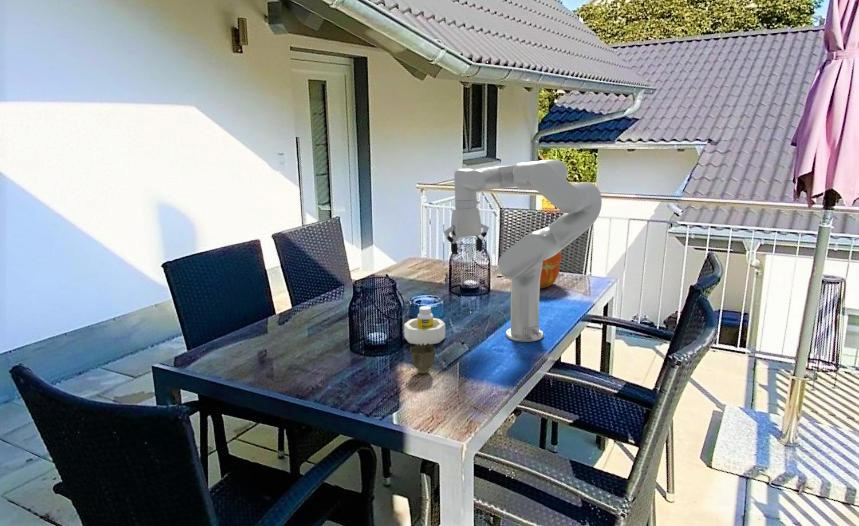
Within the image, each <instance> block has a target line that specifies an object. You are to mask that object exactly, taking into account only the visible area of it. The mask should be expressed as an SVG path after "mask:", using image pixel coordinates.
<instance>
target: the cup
mask: <svg viewBox="0 0 859 526" xmlns="http://www.w3.org/2000/svg"><path fill="white" fill-rule="evenodd" d="M409 351H410V357H411V362H412V365H413V367H414V368H415V369H416V370H417V373H418V374H419V375H428V374H429V373H430V369H431V368H432V367H433V365H434V361H435V356H436V346H434V344H428V343H427V344H426V345H424V344H423V343H422V345H420V344H414V345H412V346H411V347H409Z"/></svg>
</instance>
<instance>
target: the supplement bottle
mask: <svg viewBox="0 0 859 526" xmlns="http://www.w3.org/2000/svg"><path fill="white" fill-rule="evenodd" d="M418 312H419V313H418V314H417V317H416V318H417V321H418V329H430V328H433V318H434V315H433V313H432V308H431V306H427V305H423V306H419V311H418Z"/></svg>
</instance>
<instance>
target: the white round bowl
mask: <svg viewBox="0 0 859 526" xmlns="http://www.w3.org/2000/svg"><path fill="white" fill-rule="evenodd" d="M403 331H404V339H405V340H406V341H407V343H409V344H413V345H416V344H417V345H418V344H420V345H422V343H423V344H424V345H426V344H427V343H428V344H430V345H434V344H439V343H441V342H442V341H443V340H444V339H445V338H446V323H445V322H444V321H443V320H442V319H440V318H436V317H433V328H430V329H418V321H417V317H416V318H411V319H409V320H408V321H407V322H405V323H404V324H403Z"/></svg>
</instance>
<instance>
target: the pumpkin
mask: <svg viewBox="0 0 859 526" xmlns="http://www.w3.org/2000/svg"><path fill="white" fill-rule="evenodd" d="M562 260H563V256H562V251H559V252H558V253H557V254H556V255H554V256H553V257H551V258H548V259H546V260H544V261H543V264H542V271H541V276H540V289H544V288H547V287H550V286H551V285H553V284H554V283H555V282H556V280H557V278H558V276H559V273H560V263H562Z"/></svg>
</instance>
